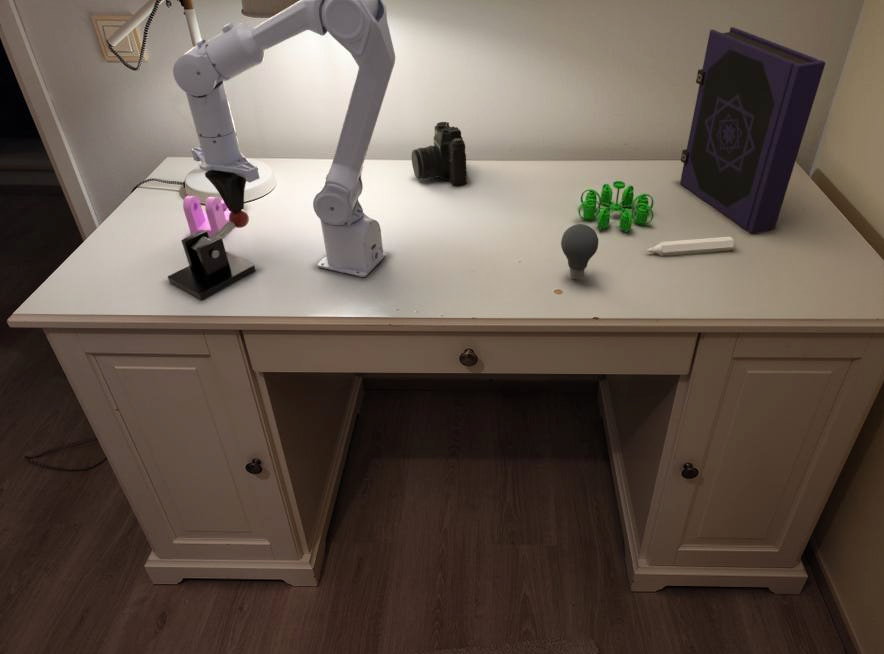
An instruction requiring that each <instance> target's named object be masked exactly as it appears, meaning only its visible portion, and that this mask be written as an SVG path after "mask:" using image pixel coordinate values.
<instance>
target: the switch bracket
mask: <svg viewBox="0 0 884 654" xmlns="http://www.w3.org/2000/svg"><path fill="white" fill-rule="evenodd" d="M203 236H204V237H206V238H208V239H209V238H210V237H209V235H208V232H207V231H206V230H202V231H200V232H197V233H195V234H193V235H191V234H190V235H189V236H187V237H185V238H182V239H181V245H182V247H183V250H184V254H185V256H186V259H187V263H188V266H186V267H184V268H182V269H179V270H177V271H176V272H173V273H171V274H170V275H167V279H168V282H169V283H170V284H172V285H173V286H176V287H177V288H179V289H181V290H182V291H184V292H186V293H187V294H189V295H191V296H193V297H195V298H196V299H199V300H200V301H203V300H206V299H207V298H209V297H210V296H213V295H214V294H216V293H219V292H220V291H221V290H223V289H225V288H227V287H229V286H231V285H233V284H235V283H236V282H238V281H240V280H242V279H244V278H246V277H248V276H249V275H251V274H253V273H255V272H256V268H255V265H254V264H252V263H250V262H248V261H246V260H245V259H242V258H240V257H238V256H236V255H234V254H232V253H230V252H228V251H226V248H225V244H224V240H223V239H222V238H220V237H217V238H215V239H213V240H211V241H209V242H207V243H204V244H202V245H200V246H198V247H196V249H197V252H198V256H199V257H198V256H197V255H196V254H195V252H194V251H193V249H192V248H191V246H193V245H194V244H195V243H196V242H197V241H198V240H199V239H201V238H202V237H203Z"/></svg>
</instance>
